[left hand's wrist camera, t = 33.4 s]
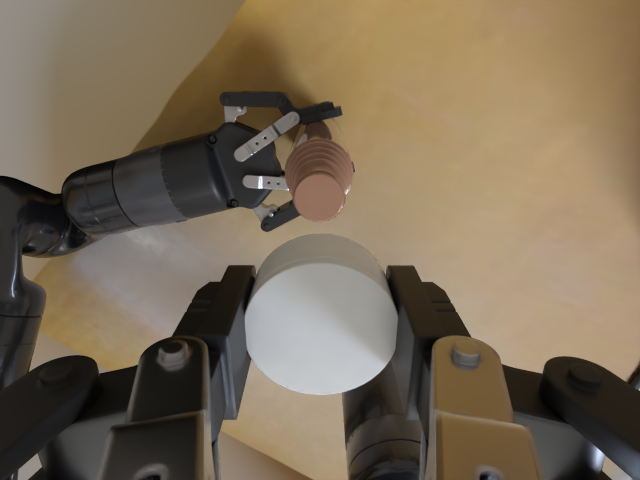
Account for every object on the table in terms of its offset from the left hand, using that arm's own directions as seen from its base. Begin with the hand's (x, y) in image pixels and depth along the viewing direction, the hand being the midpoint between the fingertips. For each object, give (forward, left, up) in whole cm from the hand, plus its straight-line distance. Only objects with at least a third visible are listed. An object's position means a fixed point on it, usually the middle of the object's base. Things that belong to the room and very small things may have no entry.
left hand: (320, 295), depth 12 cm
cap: (0, 0, +2) cm, 2 cm away
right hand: (0, -2, -29) cm, 29 cm away
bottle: (0, 0, -35) cm, 35 cm away
